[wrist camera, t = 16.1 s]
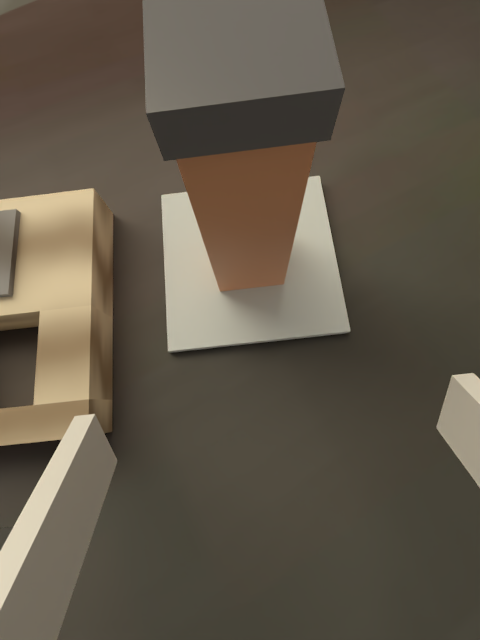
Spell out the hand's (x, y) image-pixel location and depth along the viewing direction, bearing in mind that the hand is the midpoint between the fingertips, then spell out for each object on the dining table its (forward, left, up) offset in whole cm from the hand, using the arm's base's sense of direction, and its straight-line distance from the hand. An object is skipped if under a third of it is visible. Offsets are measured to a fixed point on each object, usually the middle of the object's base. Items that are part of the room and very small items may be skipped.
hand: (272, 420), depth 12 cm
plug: (-4, +10, -8) cm, 13 cm away
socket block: (-18, +2, -8) cm, 20 cm away
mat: (-4, +10, -8) cm, 13 cm away
